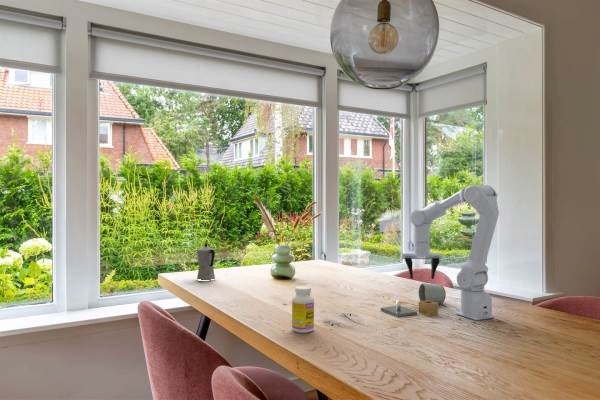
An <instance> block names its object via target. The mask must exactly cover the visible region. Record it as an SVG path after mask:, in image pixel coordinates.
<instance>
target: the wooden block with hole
mask: <svg viewBox="0 0 600 400" xmlns="http://www.w3.org/2000/svg"><path fill="white" fill-rule="evenodd" d="M418 314H420V315H423V316H426V317H434V316H439V304H438V303H436V302H433V301H430V300H428V301H420V300H419V301H418Z"/></svg>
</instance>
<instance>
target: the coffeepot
mask: <svg viewBox="0 0 600 400" xmlns="http://www.w3.org/2000/svg"><path fill="white" fill-rule="evenodd" d="M196 253H197V260H198V270H197V271H198V272H197V276H196V280H197V279H201V280H211V279H215V280H216V277H215V270H214V262H215V255H216V249H215V248H213V247H209V246H208V243H204V247H201V248H198V249H197V248H196Z"/></svg>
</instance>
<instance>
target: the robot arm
mask: <svg viewBox="0 0 600 400" xmlns="http://www.w3.org/2000/svg"><path fill="white" fill-rule="evenodd" d="M498 195H499V194H498V193H497V191H496V190H495V189H494V188H493V186H491V185H487V184H486V185H477V184H469V185H468V186H466V187H463V188H461V189H460V190H459V191H457V192H456V193H454V194H452V195H451V196H449V197H447V198H446V199H444V200H443V201H440V200H433V201H431V203H430V204H428V205H426V206H422V207H421V209H414V210H413V211H412V212H411V213H410V218H409V219H410V222H411V223H412V225H413V253H412V252H410V253H409V252H408V253H401V259H402V260H404V261H405V263H406V266H407V269H408V273H409V278H410V279H411V280H413V278H414V277H413V276H414V275H413V273H414V272H413V260H430V263H431V264H430V265H431V268H430V269H431V271H430V272H431V273H430V277H431V279H432V280H434V279H435V274H436V271H437V268H438V266H439V265H440V261H441V260H443V253H432V252H430V250H431V249H430V229H431V225H432V223H433V221H435V220H437V219H439V218H441V217H443V216H445V215H447V210H449V209H451V208H454V207H455V206H458V205H461V204H463V203H467V204H469V206H470V207H472V208H473V209H474V210H476V213H477V214H478V215H479V217H478V222H477V225H476V229H475V232H474V237H473V240H472V245H471V247H470V251H469V256H468V258H467V260H466V261H465V262H464V263H463V265H462V266H461V269H460V271H459V272H458V273H457V275H456V283H457V285H458V286H459V287H460V290H461V291H460V309H461V310H460V311H456V312H455V315H459V316H462V317H464V318H468V319H471V320H473V321H481V320H487V319H493V318H494V315H493V310H492V309H493V301H492V300H493V299H492V296H491V294H490V293H489V292H486V291H485V285H487V284H488V281H489V274H488V271H489V267H488V266H487V265H486V262H487V258H488V256H489V250H490V247H491V244H492V241H493V237H494V234H495V229H496V226H497V222H498V220H499V219H498V218H499V214H500V211H499V206H498V201H497V200H498Z"/></svg>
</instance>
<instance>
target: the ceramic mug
mask: <svg viewBox="0 0 600 400" xmlns="http://www.w3.org/2000/svg"><path fill="white" fill-rule="evenodd" d="M446 295H447V294H446V289H445V287H444V285H442V284H438V283H424V282H422V283H420V285H419V288H418V298H419V302H420V301H428V300H430V301H433V302H436V303H438V305H440V304H443V303H444V302H445V300H446V298H447V297H446Z"/></svg>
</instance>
